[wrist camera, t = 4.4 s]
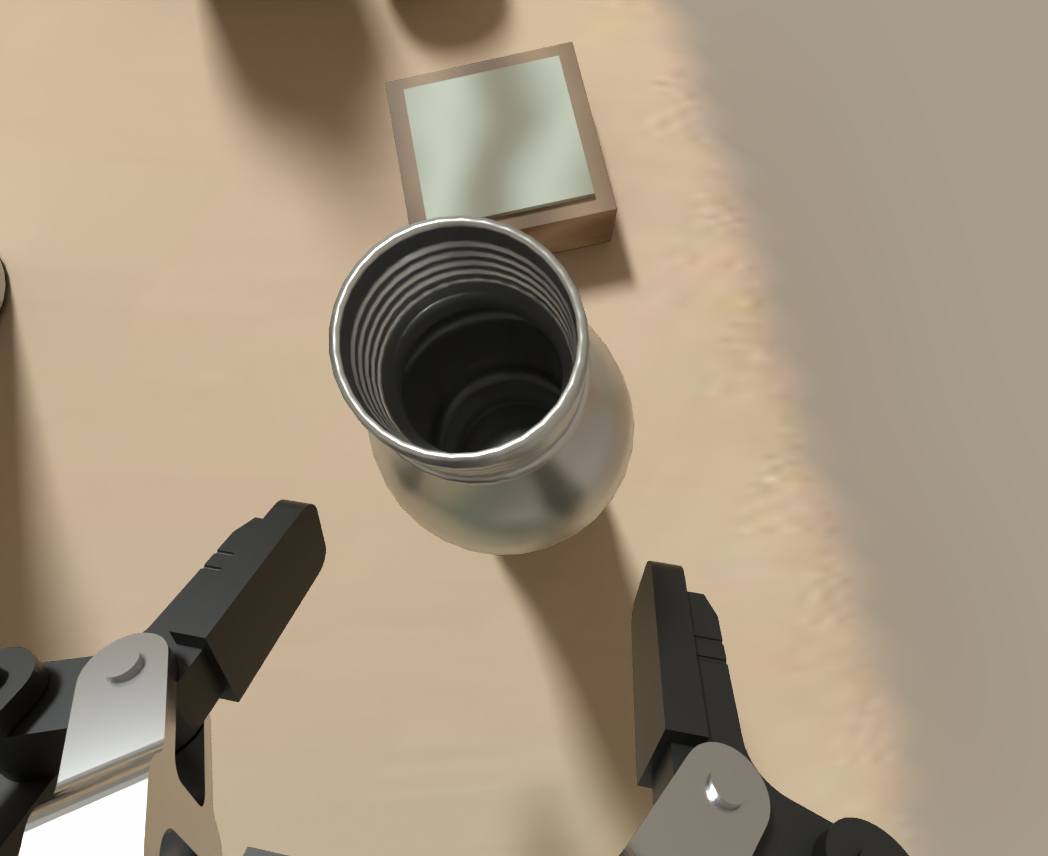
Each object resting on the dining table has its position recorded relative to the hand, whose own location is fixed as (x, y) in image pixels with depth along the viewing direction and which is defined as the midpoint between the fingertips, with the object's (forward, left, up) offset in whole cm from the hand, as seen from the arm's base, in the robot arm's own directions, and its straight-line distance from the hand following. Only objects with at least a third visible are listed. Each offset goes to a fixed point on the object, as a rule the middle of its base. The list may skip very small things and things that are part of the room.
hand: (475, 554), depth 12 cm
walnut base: (+3, +21, -14) cm, 26 cm away
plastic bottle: (+1, +3, -14) cm, 15 cm away
